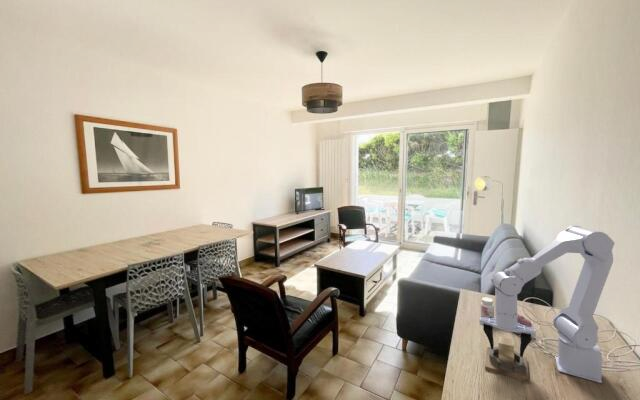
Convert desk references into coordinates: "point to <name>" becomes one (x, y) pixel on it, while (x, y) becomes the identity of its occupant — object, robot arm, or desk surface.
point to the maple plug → (506, 350)
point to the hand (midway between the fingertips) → (506, 351)
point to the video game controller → (523, 321)
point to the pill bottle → (487, 308)
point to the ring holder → (507, 365)
